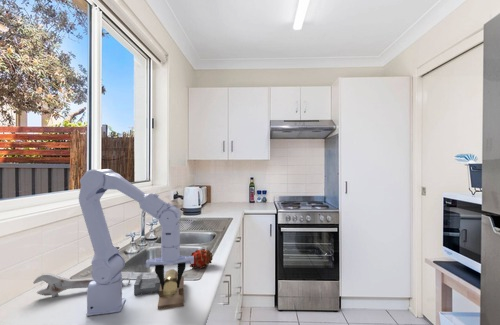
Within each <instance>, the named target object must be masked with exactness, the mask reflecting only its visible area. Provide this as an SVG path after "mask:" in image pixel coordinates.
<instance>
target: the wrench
mask: <svg viewBox="0 0 500 325" xmlns="http://www.w3.org/2000/svg"><path fill="white" fill-rule="evenodd" d="M126 279H127V281H128V282H126V283H124V282H123V281H124V280H126ZM91 281H94V280H93V278H91V277H90V278H88V277H87V278H73V279H72V278H71V279H70V278H66V277H64V276H63V277H62V276H59V275H56V274H54V273H51V272H45V273H42V274H40V275H38V276H37V277H36V278H35V279H34V280H33V285H34V284H38V283H40V282H45V283H46V284H47V287H44V288H41V289H39V290H37V292H36V294H37V295H40V296H45V297H46V296H48V297H49V296H51V297H52V298H54V297H58V296H59V294H60V293H61V292H63V291H66V290H70V289H88V285H89V283H90V282H91ZM130 283H131V278H130V277H129V276H122V287H124V286H129V285H130Z"/></svg>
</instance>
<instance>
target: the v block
mask: <svg viewBox="0 0 500 325" xmlns="http://www.w3.org/2000/svg"><path fill="white" fill-rule="evenodd" d="M160 284H161V283H160V280H159V278H158V276H157V275H156V277H154V278H152V277H151V278H144V279H143V275H137V277H136V279H135V282H134V284H133V296H139V295H148V294H155V293H158V294H159V289H160Z"/></svg>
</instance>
